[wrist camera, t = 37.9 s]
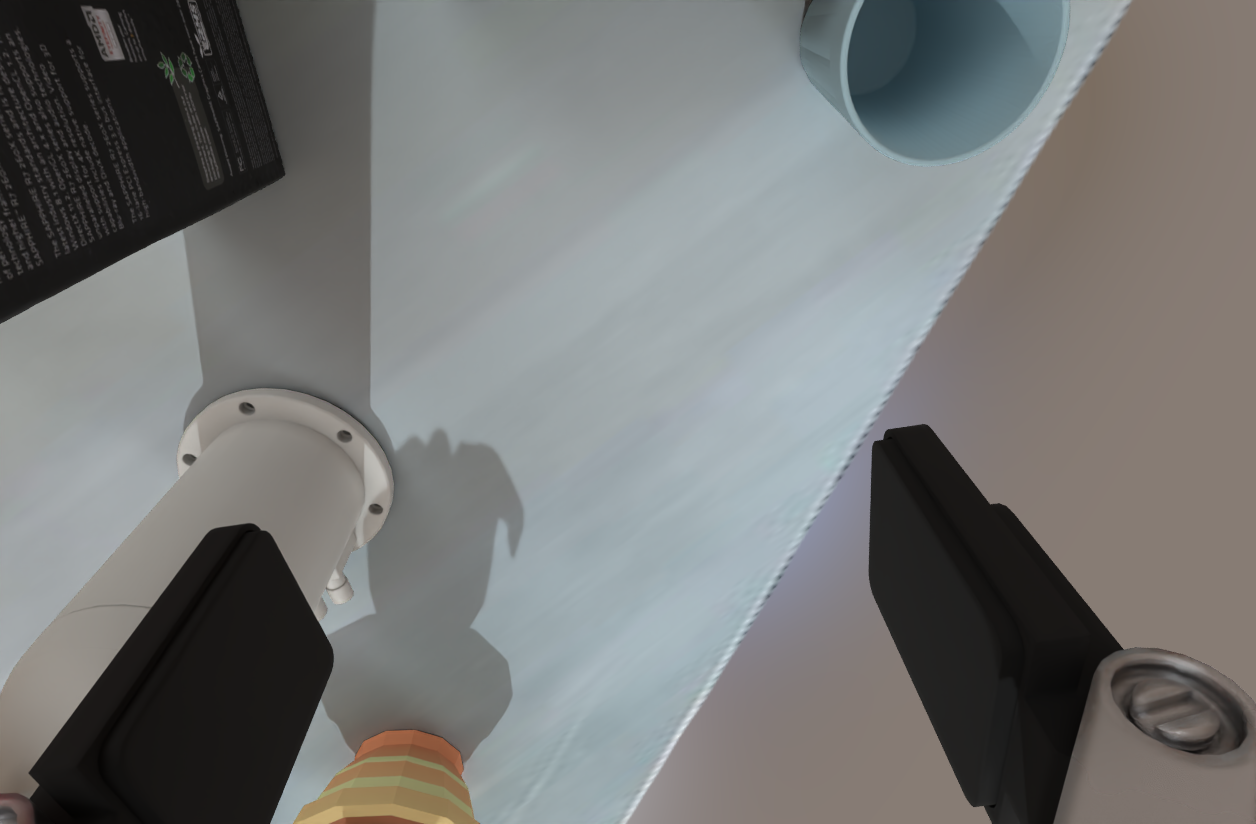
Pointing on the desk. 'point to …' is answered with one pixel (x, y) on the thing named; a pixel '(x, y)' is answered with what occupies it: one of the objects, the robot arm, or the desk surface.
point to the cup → (933, 69)
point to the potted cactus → (396, 784)
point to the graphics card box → (119, 132)
